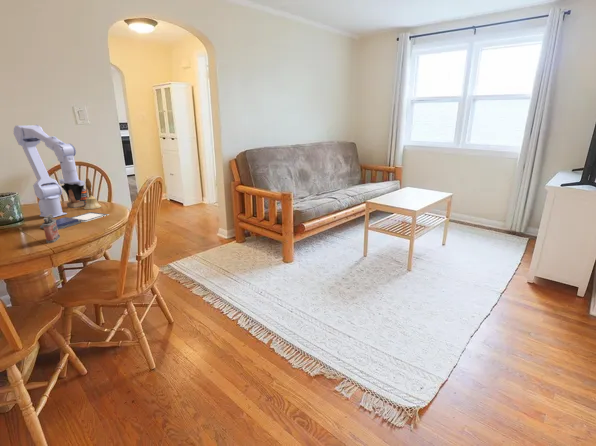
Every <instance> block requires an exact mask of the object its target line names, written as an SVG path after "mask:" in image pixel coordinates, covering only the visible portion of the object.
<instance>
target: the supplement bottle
mask: <svg viewBox="0 0 596 446" xmlns="http://www.w3.org/2000/svg"><path fill="white" fill-rule="evenodd" d="M88 197H89V196H88V191H87V189H85V186H84V187H83V189H82V194H81V200H79V201H84V206H82V207H83V208H84V207H85V206H86V198H88Z"/></svg>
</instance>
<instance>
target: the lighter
mask: <svg viewBox="0 0 596 446" xmlns="http://www.w3.org/2000/svg"><path fill="white" fill-rule="evenodd" d="M52 217H53V215H52V214H49V215H48V216H45V217H44V218H43V221H44V222H43V224H42V223H41V224H42V225H41V226H43V228H44V229H43V228H42V229H43V231H44V234H45V238H46V241H45V243H46V244H52V243H55V242H57V241H58V240H59V239H60V238H61V236H60V233H59V230H58V229H57V225H56V220H57V219H55V218H54V217H53V218H52Z"/></svg>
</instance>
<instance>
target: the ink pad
mask: <svg viewBox="0 0 596 446" xmlns="http://www.w3.org/2000/svg"><path fill="white" fill-rule="evenodd" d="M43 223H44V222H43ZM43 223H41V224H43ZM78 224H82V221H79V220H78V219H75V218H71V217H66V216H64V217H61V218H57V219H56V225H57V229H58V231H59V230H62V229H65V228H69V227H72V226H75V225H78ZM39 227H40V229H43V230H44V228H43V226H42V225H40V226H39Z"/></svg>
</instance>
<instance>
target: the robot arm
mask: <svg viewBox="0 0 596 446" xmlns="http://www.w3.org/2000/svg"><path fill="white" fill-rule="evenodd" d="M13 135H14V137H15V140H16V142H17V144H18V145H19V146H21V147H22V149H23V152H24V154H25V156H26V158H27V160H28V162H29V165H30V168H31V169H32V171H33V173H34V176H35V177H36V181H35V183H33V185H32V186H33V189H34V195H35V196H36V198H38V199H39V200H38V208H39V212H40V214H39V217H45V216H48V215H49V214H52V215H53V217H52V218H51V219H54V218H56V217H61V216H63V215H67V214H68V213H67V212H63V208H62V205H61V203H62V202H61V200H60V198H61V195H62V193H63V190H64V191H65V193H66V195H67V197H68V199H69V200H70V197H69V192H68V190H72V192H73V194H74V197H75V199H76V200H81V194H82V189H83V187H84V188H85V186H86V183H85V181H84V180H81V179H79V175H78V172H77V171H78V170H77V166H76V165H77V164H76V161H75V156H76V154H77V151H76V148H75V146H74V145H73V144H72V143H65V142H64V141H63V140H61V139H59V138H58V137H57V136H55V135H54V136H53V135H49V134H47V133H46V132H45V131H44V130H43V127H42V126H40V125H39V124H34V125H32V124H30V125H28V124H27V125H17V124H16V125H15V126H14V127H13ZM41 142H43V143H44V145H45V147H47V148H48V149H50V150H51V151H52V152H53V153H54V155H55V156H56V158H57V161H58V162H59V164H60V168H61V174H62V177H63V178H62V179H59V180H58V181H59V182H58V181H57V180H56V179H54V178H52V177H51V176H50V174H49V172H48V171H47V168H46V166H45V164H44V162H43V159H42V157H41V155H40V153H39V150H38V149H37V145H39V144H40V143H41ZM62 184H63V185H62Z"/></svg>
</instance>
